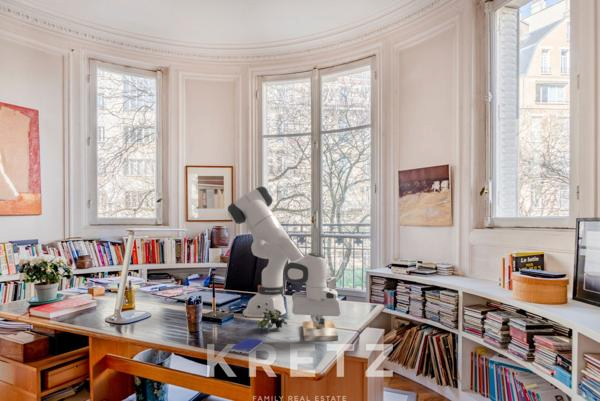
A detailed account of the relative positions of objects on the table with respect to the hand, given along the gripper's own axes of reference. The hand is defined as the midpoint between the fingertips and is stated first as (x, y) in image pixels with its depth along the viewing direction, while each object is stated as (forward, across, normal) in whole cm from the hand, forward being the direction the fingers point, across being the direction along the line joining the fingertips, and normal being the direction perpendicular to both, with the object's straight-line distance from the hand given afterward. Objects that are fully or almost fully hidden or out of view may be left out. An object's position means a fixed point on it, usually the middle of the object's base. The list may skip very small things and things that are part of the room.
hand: (316, 325), depth 158 cm
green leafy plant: (+6, -21, +8) cm, 24 cm away
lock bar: (0, +1, +3) cm, 4 cm away
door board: (+6, 0, +8) cm, 10 cm away
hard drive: (+7, -26, -12) cm, 30 cm away
